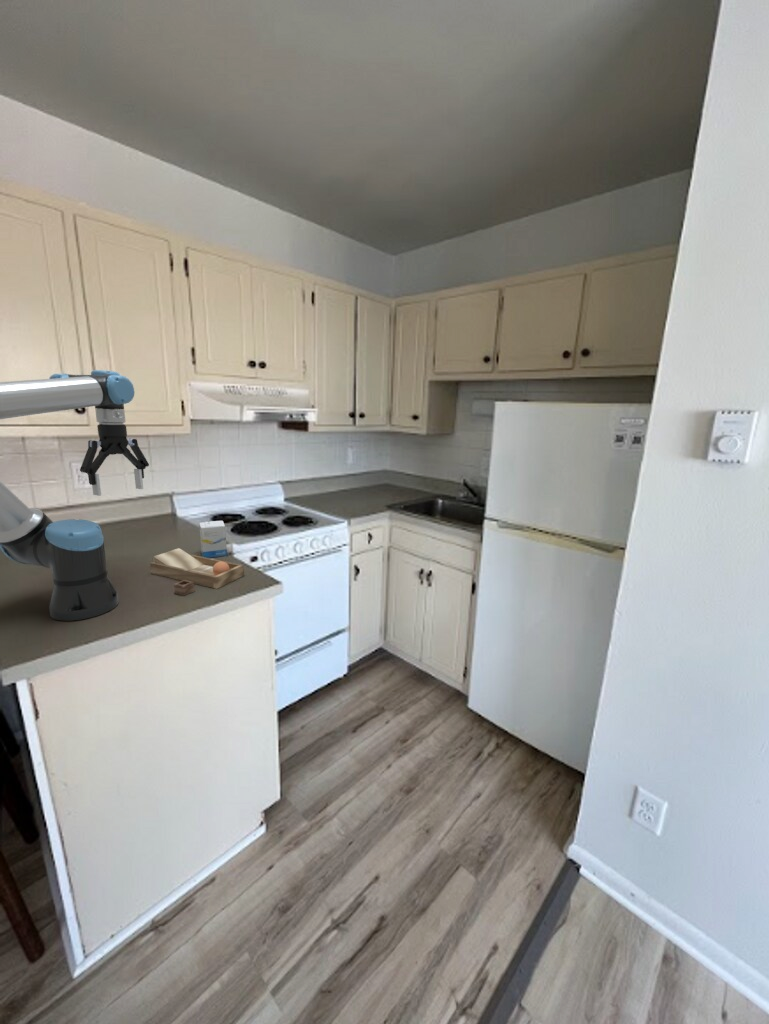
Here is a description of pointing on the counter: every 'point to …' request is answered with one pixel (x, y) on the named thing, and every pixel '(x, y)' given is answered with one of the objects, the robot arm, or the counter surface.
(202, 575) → the tray
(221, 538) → the ink box
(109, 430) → the robot arm
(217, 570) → the ball
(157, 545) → the counter surface
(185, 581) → the small brown open box
